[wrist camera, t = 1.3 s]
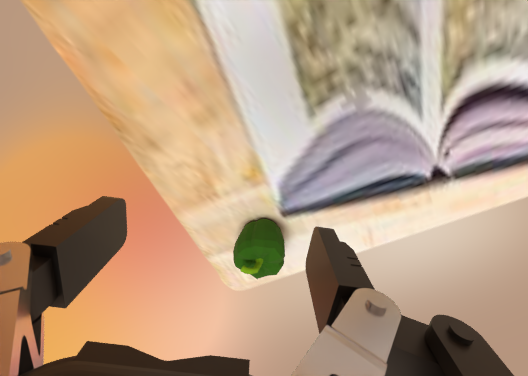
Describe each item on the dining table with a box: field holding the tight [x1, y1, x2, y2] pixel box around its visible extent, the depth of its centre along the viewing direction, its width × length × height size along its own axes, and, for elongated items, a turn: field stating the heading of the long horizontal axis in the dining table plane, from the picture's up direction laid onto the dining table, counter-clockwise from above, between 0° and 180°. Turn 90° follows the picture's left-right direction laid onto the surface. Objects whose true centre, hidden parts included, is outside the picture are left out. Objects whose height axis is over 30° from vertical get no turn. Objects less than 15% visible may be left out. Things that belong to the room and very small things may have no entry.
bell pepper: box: [233, 219, 285, 279], centre depth 43 cm, size 8×8×10 cm
